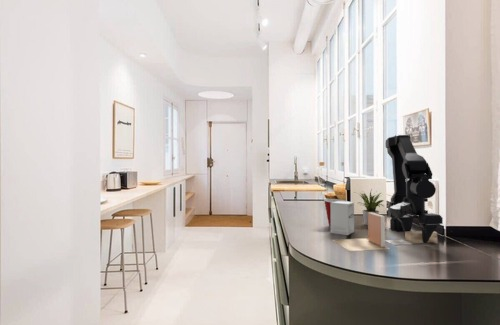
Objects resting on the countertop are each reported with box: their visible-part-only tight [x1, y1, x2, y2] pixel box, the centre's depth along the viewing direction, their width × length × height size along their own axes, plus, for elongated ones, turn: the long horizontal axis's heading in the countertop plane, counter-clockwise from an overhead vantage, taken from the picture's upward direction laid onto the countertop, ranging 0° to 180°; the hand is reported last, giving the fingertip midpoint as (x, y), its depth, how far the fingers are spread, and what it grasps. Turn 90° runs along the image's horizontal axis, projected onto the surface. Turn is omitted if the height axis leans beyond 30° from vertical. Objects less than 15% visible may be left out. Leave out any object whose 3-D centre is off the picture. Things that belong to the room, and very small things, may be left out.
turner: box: [385, 230, 438, 246], centre depth 106 cm, size 17×6×4 cm, turn 97°
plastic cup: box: [323, 198, 349, 228], centre depth 135 cm, size 11×11×12 cm
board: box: [332, 237, 391, 252], centre depth 104 cm, size 14×14×1 cm
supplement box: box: [330, 200, 355, 236], centre depth 122 cm, size 7×7×13 cm
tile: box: [367, 212, 386, 247], centre depth 104 cm, size 2×8×10 cm, turn 8°
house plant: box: [354, 188, 385, 226], centre depth 139 cm, size 14×14×16 cm
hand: (415, 239), depth 106 cm, fingers open, 9 cm apart
